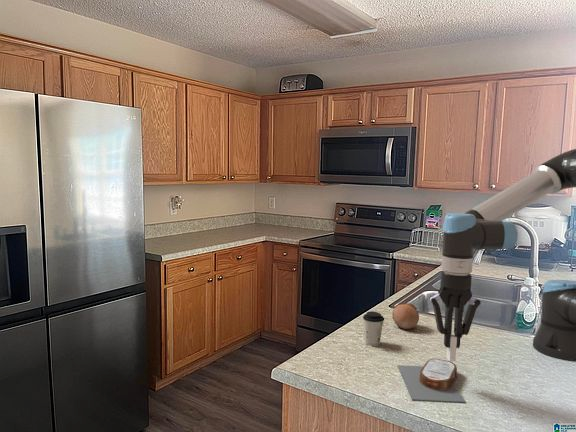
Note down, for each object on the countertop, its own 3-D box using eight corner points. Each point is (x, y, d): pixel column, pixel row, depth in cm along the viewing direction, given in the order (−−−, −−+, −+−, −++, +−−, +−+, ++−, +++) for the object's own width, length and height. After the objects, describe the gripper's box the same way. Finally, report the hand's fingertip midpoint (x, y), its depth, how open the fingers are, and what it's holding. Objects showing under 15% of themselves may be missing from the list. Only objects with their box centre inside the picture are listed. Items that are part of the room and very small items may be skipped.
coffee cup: (386, 346, 140) (387, 317, 139) (366, 348, 139) (367, 317, 138) (378, 338, 147) (379, 310, 145) (359, 339, 145) (360, 310, 144)
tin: (459, 370, 123) (429, 365, 127) (459, 360, 123) (428, 355, 127) (448, 393, 110) (415, 387, 114) (448, 381, 110) (415, 375, 114)
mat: (442, 368, 125) (442, 367, 125) (465, 402, 106) (465, 401, 106) (397, 366, 126) (397, 365, 126) (412, 400, 107) (412, 399, 107)
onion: (410, 333, 160) (420, 308, 162) (415, 335, 151) (426, 309, 152) (386, 322, 162) (396, 297, 163) (390, 323, 153) (400, 297, 154)
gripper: (435, 274, 109) (430, 363, 112) (487, 276, 108) (481, 366, 111) (427, 268, 117) (422, 351, 119) (476, 269, 116) (470, 354, 118)
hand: (451, 358), depth 115 cm, fingers closed
